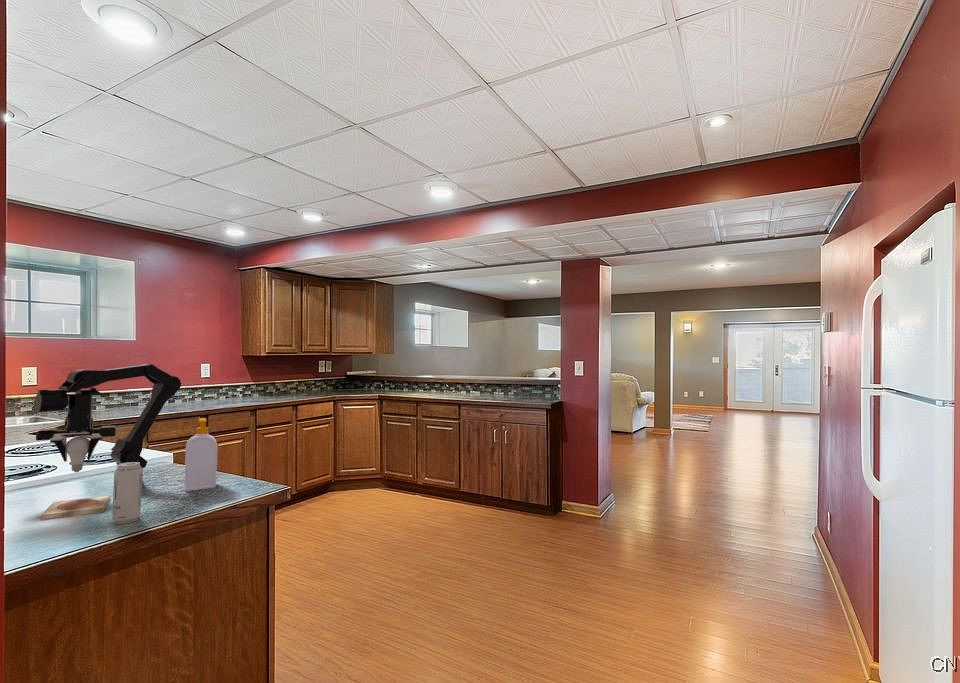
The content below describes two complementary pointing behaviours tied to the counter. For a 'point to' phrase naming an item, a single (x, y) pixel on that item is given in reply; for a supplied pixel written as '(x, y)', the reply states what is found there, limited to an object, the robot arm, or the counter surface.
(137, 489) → the energy drink can
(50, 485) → the counter surface
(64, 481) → the counter surface
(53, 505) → the birch board
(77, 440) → the lightbulb
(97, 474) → the counter surface
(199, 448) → the soap bottle
